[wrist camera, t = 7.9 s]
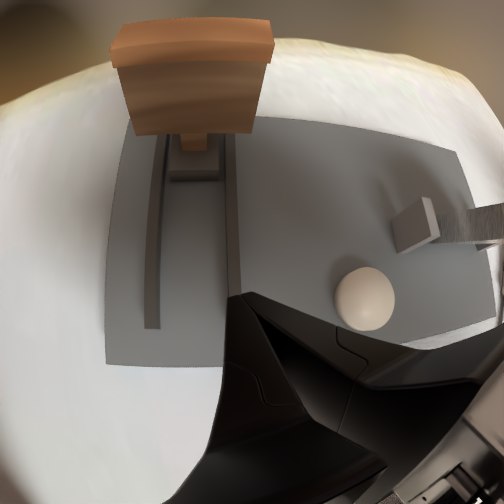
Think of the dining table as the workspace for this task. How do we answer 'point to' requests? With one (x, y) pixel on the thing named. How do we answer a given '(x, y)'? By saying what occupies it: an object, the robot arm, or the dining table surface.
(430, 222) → the control panel
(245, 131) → the walnut slider lever
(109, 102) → the dining table surface
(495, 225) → the light grey piece
